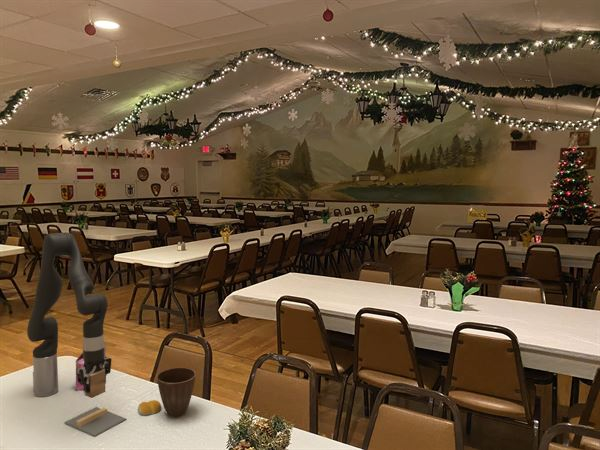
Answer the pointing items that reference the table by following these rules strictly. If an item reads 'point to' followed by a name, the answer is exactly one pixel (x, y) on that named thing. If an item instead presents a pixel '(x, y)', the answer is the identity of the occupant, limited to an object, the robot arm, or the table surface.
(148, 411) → the bread roll
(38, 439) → the table surface
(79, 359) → the gum box
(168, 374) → the plant pot
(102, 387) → the brown wooden block
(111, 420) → the mat
